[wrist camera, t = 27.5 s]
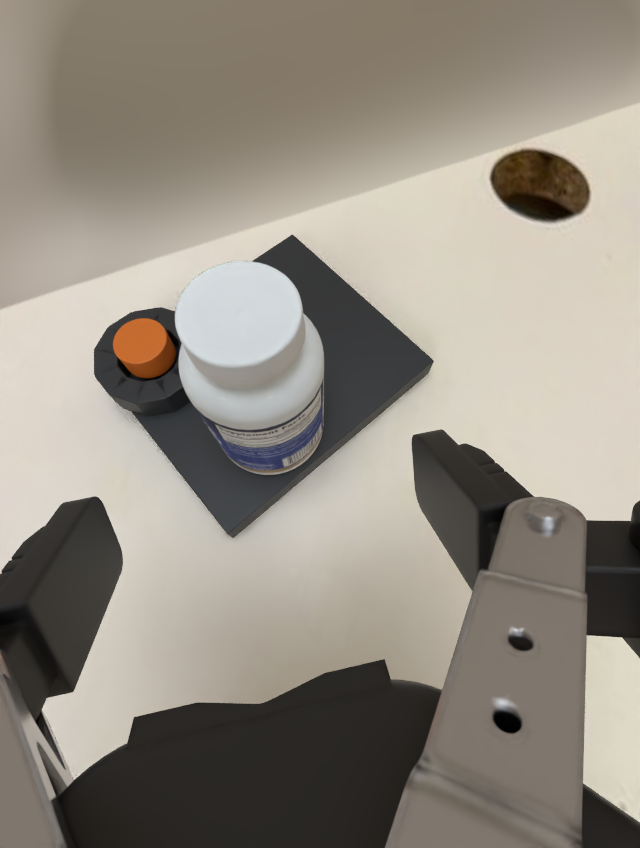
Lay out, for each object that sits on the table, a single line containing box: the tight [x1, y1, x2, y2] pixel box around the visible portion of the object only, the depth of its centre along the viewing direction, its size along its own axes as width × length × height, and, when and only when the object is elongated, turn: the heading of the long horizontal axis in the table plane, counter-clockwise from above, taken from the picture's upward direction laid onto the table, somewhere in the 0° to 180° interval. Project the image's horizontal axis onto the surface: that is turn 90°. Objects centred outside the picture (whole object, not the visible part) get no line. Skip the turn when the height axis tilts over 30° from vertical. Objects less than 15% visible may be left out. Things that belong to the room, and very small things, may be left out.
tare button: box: [113, 318, 176, 378], centre depth 22 cm, size 3×3×2 cm
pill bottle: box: [175, 261, 324, 475], centre depth 18 cm, size 5×5×10 cm
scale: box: [94, 235, 434, 537], centre depth 24 cm, size 14×12×3 cm
